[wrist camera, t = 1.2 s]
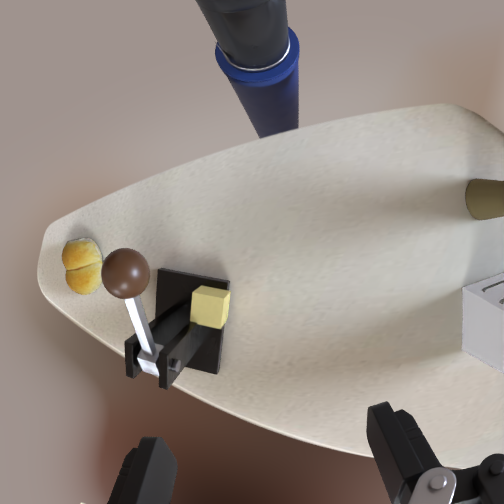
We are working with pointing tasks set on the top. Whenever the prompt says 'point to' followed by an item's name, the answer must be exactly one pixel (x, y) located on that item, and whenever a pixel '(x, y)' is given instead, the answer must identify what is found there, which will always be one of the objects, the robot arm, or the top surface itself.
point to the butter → (210, 306)
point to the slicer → (179, 329)
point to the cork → (485, 198)
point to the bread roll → (82, 265)
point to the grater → (484, 322)
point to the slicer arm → (132, 299)
